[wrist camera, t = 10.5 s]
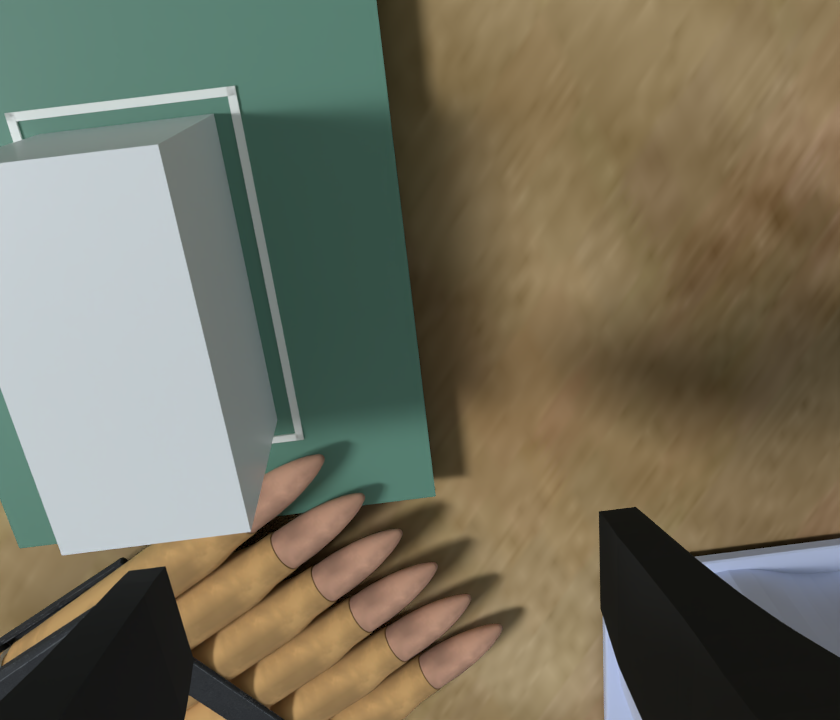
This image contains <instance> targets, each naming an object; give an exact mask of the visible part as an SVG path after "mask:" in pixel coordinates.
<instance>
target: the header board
mask: <svg viewBox="0 0 840 720" xmlns="http://www.w3.org/2000/svg"><path fill="white" fill-rule="evenodd" d="M205 114H214V117H215V122H216V127H217V131H218V136H219V141H220V146H221V151H222V156H223V160H224V165H225V170H226V175H227V180H228V184H229V189H230V194H231V199H232V204H233V209H234V213H235V218H236V223H237V228H238V233H239V237H240V242H241V247H242V252H243V257H244V262H245V266H246V271H247V276H248V281H249V286H250V290H251V295H252V300H253V305H254V310H255V315H256V319H257V324H258V329H259V334H260V339H261V343H262V348H263V353H264V358H265V363H266V368H267V372H268V377H269V382H270V387H271V392H272V396H273V401H274V406H275V411H276V416H277V424H276V428H275V432H274V437H273V441H272V445H271V449H270V454H269V458H268V462H267V466H266V470H265V474H266V473H268V472H270V471H272V470H273V469H276V468H278V467H280V466H282V465H284V464H286V463H289V462H291V461H294V460H296V459H299V458H302V457H306V456H310V455H315V454H322V455H323V456H324V458H325V460H324V463H323V465H322V467H321V469H320V471H319V472H318V474H317V475H316V477H315V478H314V479H313V480H312V482H311V483H310V484H309V485H308V486H307V488H306V489H305V490H304V491H303V492H302V493H301V494H300V495H299V496H298V497H297V498H296V499H295V500H294V501H293V502H292V503H291V504H290V505H289V506H288V507H287V508H285V509H284V510H283V511H282V512H281V513H280V514H279V515H277V516H282V515H290V514H298V513H305V512H307V511H309V510H310V509H312V508H314V507H316V506H318V505H320V504H323V503H325V502H327V501H330V500H332V499H335V498H338V497H341V496H344V495H348V494H353V493H363V494H364V495H365V500H364V502H363V504H362V505H370V504H378V503H386V502H394V501H401V500H409V499H417V498H425V497H433V496H436V495H435V487H434V479H433V470H432V462H431V454H430V445H429V437H428V429H427V420H426V412H425V403H424V395H423V387H422V378H421V370H420V362H419V353H418V345H417V336H416V328H415V320H414V311H413V303H412V295H411V286H410V278H409V269H408V261H407V253H406V244H405V236H404V228H403V219H402V211H401V202H400V194H399V186H398V177H397V169H396V161H395V152H394V144H393V136H392V127H391V119H390V110H389V102H388V94H387V85H386V77H385V69H384V60H383V52H382V43H381V35H380V27H379V18H378V10H377V2H376V0H0V147H1V146H4V145H7V144H10V143H14V142H17V141H20V140H23V139H26V138H29V137H32V136H35V135H38V134H45V133H53V132H62V131H70V130H79V129H87V128H96V127H104V126H112V125H121V124H129V123H138V122H146V121H155V120H163V119H172V118H180V117H189V116H197V115H205ZM0 500H1V503H2V505H3V508H4V510H5V513H6V515H7V518H8V520H9V523H10V525H11V528H12V530H13V533H14V536H15V538H16V541H17V543H18V546H19V548H27V547H35V546H43V545H51V544H57V541H56V538H55V535H54V533H53V530H52V527H51V524H50V522H49V519H48V516H47V514H46V511H45V508H44V505H43V503H42V500H41V497H40V495H39V492H38V489H37V486H36V484H35V481H34V478H33V476H32V473H31V470H30V467H29V465H28V462H27V459H26V456H25V454H24V451H23V448H22V446H21V443H20V440H19V437H18V435H17V432H16V429H15V427H14V424H13V421H12V418H11V416H10V413H9V410H8V408H7V405H6V402H5V399H4V397H3V394H2V391H1V388H0Z"/></svg>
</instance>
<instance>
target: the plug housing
mask: <svg viewBox="0 0 840 720" xmlns="http://www.w3.org/2000/svg"><path fill="white" fill-rule="evenodd" d="M0 388H1V391H2V394H3V397H4V399H5V402H6V405H7V408H8V410H9V413H10V416H11V418H12V421H13V424H14V427H15V429H16V432H17V435H18V437H19V440H20V443H21V446H22V448H23V451H24V454H25V456H26V459H27V462H28V465H29V467H30V470H31V473H32V476H33V478H34V481H35V484H36V486H37V489H38V492H39V495H40V497H41V500H42V503H43V505H44V508H45V511H46V514H47V516H48V519H49V522H50V524H51V527H52V530H53V533H54V535H55V538H56V541H57V544H58V546H59V549H60V552H61V554H62V555H69V554H77V553H85V552H93V551H101V550H109V549H117V548H125V547H133V546H141V545H149V544H157V543H165V542H174V541H182V540H190V539H198V538H206V537H214V536H222V535H230V534H238V533H246V532H251V529H252V525H253V521H254V517H255V512H256V508H257V504H258V500H259V496H260V491H261V487H262V483H263V479H264V475H265V470H266V466H267V462H268V458H269V454H270V449H271V445H272V441H273V437H274V432H275V428H276V424H277V416H276V411H275V406H274V401H273V396H272V392H271V387H270V382H269V377H268V372H267V368H266V363H265V358H264V353H263V348H262V343H261V339H260V334H259V329H258V324H257V319H256V315H255V310H254V305H253V300H252V295H251V290H250V286H249V281H248V276H247V271H246V266H245V262H244V257H243V252H242V247H241V242H240V237H239V233H238V228H237V223H236V218H235V213H234V209H233V204H232V199H231V194H230V189H229V184H228V180H227V175H226V170H225V165H224V160H223V156H222V151H221V146H220V141H219V136H218V131H217V127H216V122H215V117H214V114H205V115H197V116H189V117H180V118H172V119H163V120H155V121H146V122H138V123H129V124H121V125H112V126H104V127H96V128H87V129H79V130H70V131H62V132H53V133H45V134H38V135H35V136H32V137H29V138H26V139H23V140H20V141H17V142H14V143H10V144H7V145H4V146H1V147H0Z"/></svg>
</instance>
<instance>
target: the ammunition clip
mask: <svg viewBox="0 0 840 720" xmlns="http://www.w3.org/2000/svg"><path fill="white" fill-rule="evenodd" d="M324 460H325V458H324V456H323V455H322V454H315V455H310V456H306V457H302V458H299V459H296V460H294V461H291V462H289V463H286V464H284V465H282V466H280V467H278V468H276V469H273V470H272V471H270V472H268V473H266V474H265V475H264V479H263V483H262V487H261V491H260V496H259V500H258V504H257V508H256V512H255V517H254V521H253V525H252V529H251V532H246V533H238V534H230V535H222V536H214V537H206V538H198V539H190V540H182V541H174V542H165V543H157V544H151V545H150V546H148V547H147V548H146V549H144V550H143V551H141V552H140V553H139V554H137V555H136V556H134V557H133V558H132V559H130V560H129V561H128V560H127V559H126V558H120V559H119V560H117V561H116V562H114V563H113V564H111V565H110V566H108V567H107V568H105V569H104V570H102V571H101V572H99V573H98V574H96V575H95V576H93V577H92V578H90V579H89V580H87V581H85V582H84V583H82V584H81V585H79V586H78V587H76V588H75V589H73V590H72V591H70V592H69V593H67V594H66V595H64V596H63V597H61V598H60V599H58V600H57V601H55V602H54V603H52V604H51V605H49V606H48V607H46V608H45V609H43V610H42V611H40V612H39V613H37V614H36V615H34V616H33V617H31V618H30V619H28V620H27V621H25V622H24V623H22V624H21V625H19V626H18V627H16V628H14V629H13V630H11V631H10V632H8V633H7V634H5V635H4V636H2V637H1V638H0V701H1V700H2V699H3V698H4V697H5V696H6V695H7V694H8V693H9V692H10V691H11V690H12V689H13V688H14V687H15V686H16V685H17V684H18V683H19V682H21V681H22V680H23V679H24V678H25V677H26V676H27V675H28V674H29V673H30V672H31V671H32V670H33V669H34V668H35V667H36V666H37V665H38V664H39V663H40V662H41V661H42V660H43V659H44V658H45V657H46V656H47V655H48V654H49V653H50V652H51V651H52V650H53V649H54V648H55V647H56V646H57V645H58V644H59V643H60V642H61V641H62V640H63V639H64V638H65V636H66V635H67V634H68V633H69V632H70V631H71V630H72V629H73V628H74V627H75V626H76V625H77V624H78V623H79V622H80V621H81V620H82V619H83V618H84V617H85V616H86V615H87V613H88V612H89V611H90V610H91V609H92V608H93V607H94V606H95V605H96V604H97V603H98V602H99V601H100V600H101V599H102V598H103V596H104V595H105V594H106V593H107V592H108V591H109V590H110V589H111V588H112V587H113V586H114V585H115V584H116V583H117V582H118V581H119V580H120V579H121V578H122V577H123V576H124V575H125V574H126V573H127V572H128V571H131V570H139V569H147V568H155V567H163V566H166V570H167V573H168V576H169V580H170V583H171V586H172V589H173V593H174V596H175V599H176V603H177V606H178V609H179V612H180V616H181V619H182V622H183V626H184V629H185V632H186V636H187V639H188V642H189V645H190V649H191V652H192V655H193V659H194V663H193V670H192V677H191V684H190V691H189V697H188V703H187V709H186V714H185V720H402V719H404V718H405V717H407V716H408V715H409V714H410V713H411V712H412V711H413V710H414V709H415V708H416V707H417V706H418V705H419V704H420V703H421V702H422V701H424V700H425V699H426V698H428V697H429V696H431V695H432V694H434V693H435V692H437V691H438V690H439V689H440V688H441V687H442V686H444V685H445V684H447V683H448V682H450V681H451V680H453V679H454V678H456V677H457V676H459V675H460V674H462V673H463V672H464V671H465V670H467V669H468V668H469V667H470V666H472V665H473V664H474V663H475V662H476V661H477V660H478V659H480V658H481V657H482V656H483V655H484V654H485V653H486V651H487V650H488V649H489V648H490V647H491V646H492V645H493V644H494V642H495V641H496V640H497V638H498V637H499V635H500V633H501V631H502V626H501V624H488V625H483V626H479V627H476V628H473V629H470V630H467V631H464V632H462V633H459V634H457V635H455V636H453V637H451V638H449V639H446V640H444V641H442V642H440V643H439V644H437V645H435V646H434V647H432V648H430V649H429V650H427V651H425V652H424V653H421V654H419V655H417V656H415V655H416V654H418V653H419V652H421V651H422V650H424V649H425V648H427V647H428V646H429V645H431V644H432V643H433V642H434V641H435V640H437V639H438V638H439V637H440V636H442V635H443V634H444V633H445V632H446V631H447V630H448V629H449V628H450V627H451V626H452V625H453V624H454V623H455V622H456V621H457V620H458V618H459V617H460V616H461V615H462V614H463V612H464V611H465V610H466V608H467V606H468V605H469V603H470V601H471V596H470V595H469V594H459V595H454V596H449V597H446V598H443V599H440V600H437V601H434V602H432V603H429V604H427V605H424V606H422V607H420V608H418V609H416V610H414V611H412V612H410V613H408V614H407V615H405V616H403V617H402V618H400V619H398V620H397V621H395V622H394V623H392V624H390V625H389V626H385V627H384V628H382V629H380V630H379V631H377V632H375V633H373V634H372V635H370V634H371V633H372V632H373V630H375V629H376V628H378V627H379V626H381V625H382V624H384V623H385V622H387V621H388V620H390V619H391V618H392V617H394V616H395V615H396V614H397V613H399V612H400V611H401V610H402V609H403V608H404V607H406V606H407V605H408V604H409V603H410V602H411V601H412V600H413V599H414V598H415V597H416V596H417V595H418V594H419V593H420V592H421V591H422V590H423V589H424V588H425V586H426V585H427V584H428V583H429V581H430V580H431V579H432V577H433V576H434V574H435V572H436V570H437V568H438V565H437V564H436V563H435V562H427V563H421V564H417V565H413V566H410V567H407V568H404V569H402V570H399V571H397V572H394V573H392V574H390V575H388V576H386V577H384V578H382V579H380V580H378V581H376V582H374V583H372V584H371V585H369V586H367V587H366V588H364V589H363V590H361V591H360V592H358V593H357V594H355V595H353V596H350V597H348V598H347V599H345V600H343V601H342V602H340V603H338V604H337V605H335V606H333V607H332V608H330V609H327V608H328V607H330V606H331V605H332V604H334V603H335V602H336V601H337V599H339V598H340V597H342V596H343V595H345V594H346V593H347V592H349V591H350V590H352V589H353V588H355V587H356V586H357V585H358V584H360V583H361V582H362V581H363V580H364V579H365V578H367V577H368V576H369V575H370V574H371V573H372V572H373V571H375V570H376V569H377V568H378V567H379V566H380V565H381V564H382V563H383V561H384V560H385V559H386V558H387V557H388V556H389V555H390V553H391V552H392V551H393V550H394V548H395V547H396V546H397V544H398V542H399V541H400V539H401V537H402V535H403V532H402V530H401V529H389V530H384V531H380V532H377V533H375V534H372V535H369V536H366V537H364V538H361V539H359V540H357V541H355V542H353V543H351V544H349V545H347V546H345V547H343V548H341V549H339V550H338V551H336V552H334V553H333V554H331V555H329V556H328V557H326V558H325V559H323V560H322V561H320V562H319V563H317V564H316V565H312V566H311V567H309V568H308V569H306V570H304V571H303V572H301V573H299V574H298V575H296V576H295V577H293V578H290V579H288V580H285V581H283V582H281V583H279V582H280V581H282V580H283V579H284V578H286V577H287V576H288V575H290V574H291V573H292V572H293V571H295V570H296V569H297V568H298V567H299V566H300V565H301V564H303V563H304V562H305V561H307V560H308V559H310V558H311V557H312V556H314V555H315V554H316V553H318V552H319V551H320V550H321V549H322V548H324V547H325V546H326V545H327V544H328V543H329V542H330V541H332V540H333V539H334V538H335V537H336V536H337V535H338V534H339V533H340V532H341V531H342V530H343V529H344V528H345V527H346V526H347V524H348V523H349V522H350V521H351V520H352V519H353V517H354V516H355V515H356V514H357V512H358V511H359V509H360V508H361V506H362V504H363V502H364V500H365V495H364V494H363V493H353V494H348V495H344V496H341V497H338V498H335V499H332V500H330V501H327V502H325V503H323V504H320V505H318V506H316V507H314V508H312V509H310V510H309V511H307V512H305V513H303V514H301V515H300V516H298V517H296V518H295V519H293V520H292V521H290V522H289V523H287V524H286V525H284V526H283V527H281V528H280V529H278V530H277V531H273V532H272V533H270V534H269V535H267V536H266V537H264V538H262V539H261V540H259V541H258V542H256V543H255V544H253V545H251V546H248V547H246V548H243V549H241V550H239V551H237V552H234V553H232V552H233V551H234V550H235V549H236V548H237V547H238V546H240V545H241V544H242V543H244V542H245V541H246V540H247V539H249V538H250V537H251V536H252V535H254V534H255V533H256V532H257V530H259V529H260V528H261V527H263V526H264V525H265V524H267V523H268V522H269V521H271V520H272V519H273V518H275V517H276V516H277V515H279V514H280V513H281V512H282V511H283V510H284V509H285V508H287V507H288V506H289V505H290V504H291V503H292V502H293V501H294V500H295V499H296V498H297V497H298V496H299V495H300V494H301V493H302V492H303V491H304V490H305V489H306V488H307V486H308V485H309V484H310V483H311V482H312V480H313V479H314V478H315V477H316V475H317V474H318V472H319V471H320V469H321V467H322V465H323V463H324ZM326 609H327V610H326ZM368 635H370V636H368ZM367 636H368V637H367ZM365 637H366V638H365ZM413 656H415V657H413ZM412 657H413V658H412ZM410 658H412V659H410ZM409 659H410V660H409Z"/></svg>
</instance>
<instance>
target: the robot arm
mask: <svg viewBox="0 0 840 720" xmlns="http://www.w3.org/2000/svg"><path fill="white" fill-rule="evenodd" d="M599 540H600V602H601V611H602V615H603V668H604V720H840V538H838V539H831V540H823V541H815V542H807V543H799V544H791V545H783V546H775V547H767V548H760V549H752V550H744V551H736V552H728V553H720V554H712V555H704V556H696V557H694V556H693V555H692V554H690V553H689V552H688V551H687V550H686V549H684V548H683V547H682V546H681V545H680V544H679V543H677V542H676V541H675V540H674V539H673V538H671V537H670V536H669V535H668V534H667V533H666V532H664V531H663V530H662V529H661V528H660V527H659V526H658V525H656V524H655V523H654V522H653V521H652V520H651V519H649V518H648V517H647V516H646V515H645V514H643V513H642V512H641V511H640V510H639V509H637V508H636V507H632V508H624V509H616V510H608V511H600V512H599ZM193 663H194V659H193V655H192V652H191V649H190V645H189V642H188V639H187V636H186V632H185V629H184V626H183V622H182V619H181V616H180V612H179V609H178V606H177V603H176V599H175V596H174V593H173V589H172V586H171V583H170V580H169V576H168V573H167V570H166V566H163V567H155V568H147V569H139V570H131V571H128V572H127V573H126V574H125V575H124V576H123V577H122V578H121V579H120V580H119V581H118V582H117V583H116V584H115V585H114V586H113V587H112V588H111V589H110V590H109V591H108V592H107V593H106V594H105V595H104V596H103V598H102V599H101V600H100V601H99V602H98V603H97V604H96V605H95V606H94V607H93V608H92V609H91V610H90V611H89V612H88V613H87V615H86V616H85V617H84V618H83V619H82V620H81V621H80V622H79V623H78V624H77V625H76V626H75V627H74V628H73V629H72V630H71V631H70V632H69V633H68V634H67V635H66V636H65V638H64V639H63V640H62V641H61V642H60V643H59V644H58V645H57V646H56V647H55V648H54V649H53V650H52V651H51V652H50V653H49V654H48V655H47V656H46V657H45V658H44V659H43V660H42V661H41V662H40V663H39V664H38V665H37V666H36V667H35V668H34V669H33V670H32V671H31V672H30V673H29V674H28V675H27V676H26V677H25V678H24V679H23V680H22V681H21V682H19V683H18V684H17V685H16V686H15V687H14V688H13V689H12V690H11V691H10V692H9V693H8V694H7V695H6V696H5V697H4V698H3V699H2V700H1V701H0V720H185V714H186V709H187V703H188V697H189V691H190V684H191V677H192V670H193Z"/></svg>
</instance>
